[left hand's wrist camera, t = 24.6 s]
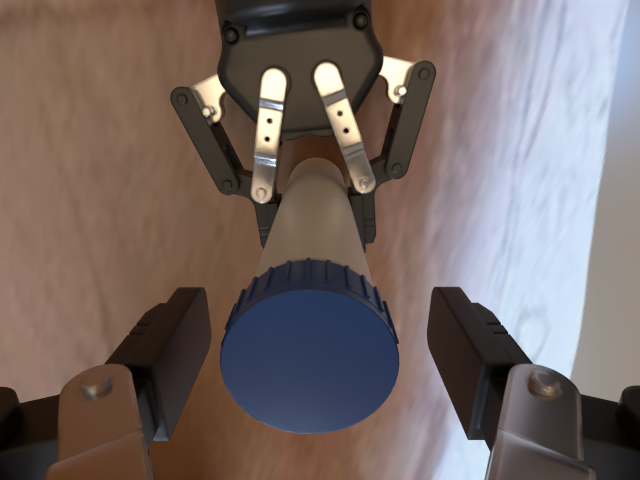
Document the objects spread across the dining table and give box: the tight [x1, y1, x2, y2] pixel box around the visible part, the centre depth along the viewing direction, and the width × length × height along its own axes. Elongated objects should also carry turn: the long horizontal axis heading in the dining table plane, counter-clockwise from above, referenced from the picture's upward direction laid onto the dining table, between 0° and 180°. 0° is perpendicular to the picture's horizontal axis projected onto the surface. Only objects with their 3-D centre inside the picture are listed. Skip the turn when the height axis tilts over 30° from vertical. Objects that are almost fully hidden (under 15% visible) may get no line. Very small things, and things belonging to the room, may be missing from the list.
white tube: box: [254, 157, 373, 286], centre depth 19 cm, size 4×4×19 cm
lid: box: [220, 258, 399, 434], centre depth 10 cm, size 5×5×2 cm
